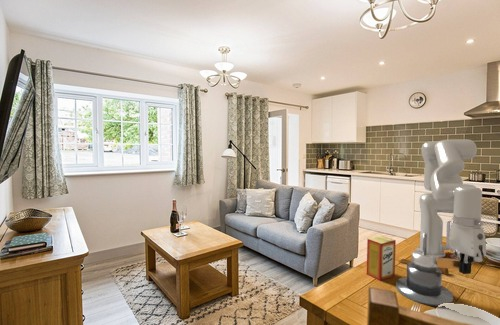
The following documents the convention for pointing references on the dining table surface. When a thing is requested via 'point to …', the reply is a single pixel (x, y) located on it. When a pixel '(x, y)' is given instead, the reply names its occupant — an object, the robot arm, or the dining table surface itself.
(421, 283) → the grey stepped cylinder
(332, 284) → the dining table surface
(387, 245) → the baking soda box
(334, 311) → the dining table surface
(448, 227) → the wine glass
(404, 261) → the primitive tool
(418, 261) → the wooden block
